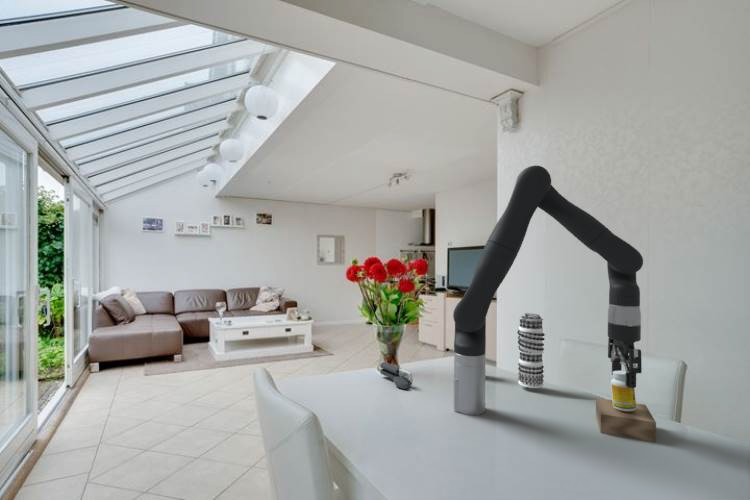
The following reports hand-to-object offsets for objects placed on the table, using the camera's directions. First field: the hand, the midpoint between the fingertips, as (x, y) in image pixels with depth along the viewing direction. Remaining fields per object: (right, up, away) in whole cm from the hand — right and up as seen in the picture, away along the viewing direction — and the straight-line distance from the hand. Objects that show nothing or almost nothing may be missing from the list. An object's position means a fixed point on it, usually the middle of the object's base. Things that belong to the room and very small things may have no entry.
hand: (623, 381), depth 106 cm
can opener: (-59, -13, +40) cm, 73 cm away
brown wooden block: (0, -14, 0) cm, 14 cm away
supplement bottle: (0, -7, 0) cm, 7 cm away
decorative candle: (-11, -13, +36) cm, 39 cm away
